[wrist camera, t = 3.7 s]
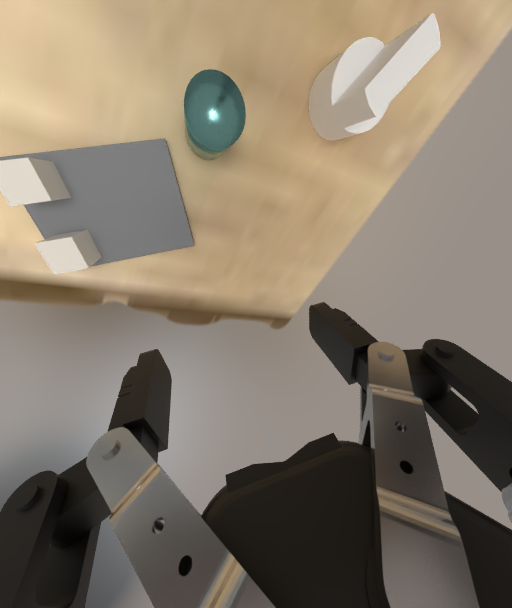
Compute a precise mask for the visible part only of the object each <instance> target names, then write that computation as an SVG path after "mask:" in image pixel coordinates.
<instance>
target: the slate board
mask: <svg viewBox="0 0 512 608" xmlns="http://www.w3.org/2000/svg"><path fill="white" fill-rule="evenodd" d="M20 158H34V159H40V160H46V161H52V162H54V164H55V166H56V168H57V170H58V172H59V174H60V176H61V178H62V180H63V182H64V184H65V186H66V188H67V190H68V192H69V194H70V196H71V198H69V199H62V200H55V201H48V202H42V203H35V204H27V205H24V206H25V208H26V209H27V211H28V213H29V214H30V216H31V218H32V219H33V221H34V222H35V224H36V226H37V227H38V229H39V231H40V232H41V234H42V235H43V237H44V239H47V238H49V237H52V236H55V235H59V234H65V233H70V232H76V231H82V230H88V231H89V233H90V235H91V237H92V239H93V241H94V243H95V245H96V247H97V249H98V251H99V253H100V255H101V258H100V259H99V260H98V261H96V262H95V263H94V264H93V265H92V266H95V265H100V264H105V263H110V262H115V261H120V260H125V259H130V258H135V257H140V256H145V255H150V254H155V253H160V252H165V251H170V250H175V249H180V248H186V247H191V246H194V241H193V238H192V234H191V230H190V227H189V223H188V219H187V216H186V212H185V208H184V205H183V201H182V197H181V194H180V190H179V186H178V183H177V179H176V175H175V172H174V168H173V164H172V161H171V157H170V153H169V150H168V146H167V143H166V140H165V139H156V140H147V141H138V142H130V143H121V144H112V145H103V146H95V147H86V148H77V149H68V150H60V151H51V152H42V153H33V154H24V155H16V156H7V157H0V161H2V160H11V159H20Z"/></svg>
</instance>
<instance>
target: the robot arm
mask: <svg viewBox="0 0 512 608" xmlns="http://www.w3.org/2000/svg"><path fill="white" fill-rule="evenodd" d="M309 329H310V333H311V336H312V338H313V339H314V340H315V342H316V343H317V344H318V345H319V347H320V348H321V349H322V351H323V352H324V353H325V354H326V356H327V357H328V358H329V360H330V361H331V362H332V363H333V364H334V366H335V367H336V368H337V370H338V371H339V372H340V374H341V375H342V376H343V377H344V379H345V380H346V381H347V382H348V384H349V385H350V384H353V383H356V382H358V383H359V384H360V386H361V388H360V433H359V443H355V442H350V441H338V440H337V438H336V436H335V435H334V433H332V434H329V435H327V436H324V437H322V438H319V439H317V440H314V441H312V442H309V443H308V444H306V445H305V446H304V447H303V448H301V449H300V450H299V451H298V452H297V453H295V454H294V455H292V456H291V457H290V458H289V459H287V460H286V461H284V462H275V463H262V464H253V465H250V466H248V467H245V468H243V469H240V470H238V471H235V472H232V473H230V474H227V475H226V482H227V485H226V486H224V487H223V488H222V489H221V490H220V491H219V492H218V493H217V494H216V495H215V496H214V498H213V499H212V500H211V501H210V502H209V504H208V506H207V507H206V509H205V510H204V512H203V514H202V516H201V515H200V513H199V512H198V511H197V510H196V509H195V507H194V506H193V505H192V504H191V503H190V502H189V500H188V499H187V498H186V497H185V496H184V495H183V493H182V492H181V491H180V490H179V489H178V487H177V486H176V485H175V484H174V482H173V481H172V480H171V479H170V478H169V476H168V475H167V474H166V473H165V472H164V471H163V469H162V468H161V467H160V466H159V465H158V464H157V460H158V452H160V451H163V450H166V449H167V448H168V433H169V416H170V400H171V382H172V380H171V374H170V371H169V369H168V367H167V365H166V363H165V362H164V359H163V357H162V355H161V354H160V352H159V350H158V349H155V350H152V351H148V352H144V353H141V354H140V356H139V359H138V363H137V366H134V367H131V368H130V369H129V371H128V372H127V374H126V375H125V376H124V378H123V381H122V385H121V389H120V392H119V395H118V397H119V398H118V399H117V402H116V405H115V408H114V412H113V415H112V419H111V422H110V425H109V429H108V432H107V433H105V434H104V435H103V436H101V437H100V438H99V439H98V440H97V441H96V442H95V444H94V445H93V447H92V448H91V449H90V451H89V453H88V456H87V457H86V458H85V459H83V460H82V461H80V462H79V463H77V464H75V465H74V466H72V467H71V468H69V469H67V470H66V471H64V472H62V473H61V474H59V475H57V474H56V473H54V472H52V471H44V472H40V473H38V474H36V475H34V476H32V477H31V478H30V479H28V480H27V481H25V482H24V483H23V484H22V485H21V486H19V487H18V488H17V489H16V491H14V493H13V494H12V495H11V496H10V497H9V499H8V500H7V502H6V503H5V504H4V506H3V508H2V510H1V512H0V608H85V602H86V596H87V592H88V587H89V581H90V576H91V571H92V566H93V561H94V556H95V551H96V545H97V540H98V535H99V530H100V525H101V521H103V520H104V519H105V518H107V517H108V516H109V515H110V514H112V515H111V516H110V518H109V519H110V523H111V525H112V528H113V529H114V531H115V533H116V535H117V537H118V539H119V541H120V543H121V545H122V547H123V549H124V551H125V552H126V554H127V556H128V558H129V560H130V562H131V564H132V566H133V568H134V570H135V572H136V574H137V575H138V577H139V579H140V581H141V583H142V585H143V587H144V589H145V591H146V593H147V595H148V596H149V598H150V600H151V602H152V604H153V606H154V608H512V530H511V529H509V528H507V527H506V526H504V525H502V524H501V523H499V522H497V521H495V520H494V519H492V518H490V517H489V516H487V515H485V514H483V513H482V512H480V511H478V510H476V509H475V508H473V507H471V506H470V505H468V504H466V503H464V502H463V501H461V500H459V499H458V498H456V497H454V496H452V495H451V494H449V493H447V492H445V491H444V489H443V484H442V480H441V476H440V472H439V468H438V464H437V459H436V456H435V451H434V447H433V443H432V439H431V434H430V430H429V426H428V422H427V418H426V413H425V411H426V412H427V413H428V414H429V415H430V416H431V417H432V419H433V420H434V421H435V422H436V423H437V424H438V425H439V426H440V427H441V428H442V429H443V430H444V431H445V432H446V434H447V435H448V436H449V437H450V438H451V439H452V440H453V441H454V442H455V443H456V444H457V445H458V446H459V447H460V448H461V450H462V451H463V452H464V453H465V454H466V455H467V456H468V457H469V458H470V459H471V460H472V461H473V462H474V463H475V464H476V465H477V467H478V468H479V469H480V470H481V471H482V472H483V473H484V474H485V475H486V476H487V477H488V478H489V479H490V480H491V482H492V483H493V484H494V485H495V486H496V487H497V488H498V489H499V490H500V491H501V492H502V499H503V502H504V504H505V506H506V508H507V510H508V511H509V512H508V516H509V519H510V520H511V522H512V382H511V381H509V380H508V379H506V378H505V377H503V376H502V375H500V374H499V373H497V372H496V371H495V370H493V369H492V368H490V367H489V366H487V365H486V364H484V363H483V362H481V361H480V360H478V359H477V358H475V357H474V356H472V355H471V354H470V353H468V352H467V351H465V350H464V349H462V348H461V347H459V346H458V345H456V344H454V343H451V342H449V341H445V340H440V339H431V340H428V341H426V342H425V343H424V345H423V348H422V349H415V350H402V349H400V348H399V347H397V346H395V345H393V344H391V343H387V342H378V341H377V340H376V339H375V338H374V337H372V336H371V335H370V334H369V333H368V332H367V331H366V330H364V329H363V328H362V327H361V326H360V325H359V324H357V323H356V322H355V321H354V320H353V319H351V317H350V316H348V315H347V314H346V313H345V312H343V311H340V310H338V309H336V308H335V309H332V308H330V307H329V306H328V305H327V304H326V303H325V302H322V303H319V304H315V305H311V306H310V308H309ZM451 387H453V388H454V389H456V391H458V392H459V393H460V394H461V395H462V396H463V397H465V398H466V399H467V400H468V401H469V402H471V403H472V404H473V405H474V406H475V408H476V409H477V411H478V413H479V414H478V413H477V412H475V411H474V410H473V409H472V408H471V407H470V406H469V405H467V404H466V403H465V402H464V401H463V400H462V399H461V398H459V397H458V396H457V395H456V394H455V393H454V392H453V391H451V390H450V389H451Z"/></svg>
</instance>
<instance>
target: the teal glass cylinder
mask: <svg viewBox="0 0 512 608" xmlns="http://www.w3.org/2000/svg"><path fill="white" fill-rule="evenodd" d="M184 112H185V134H186V139H187V142H188V145H189V147H190V148H191V150H192V151H193V152H194V153H195V154H196V155H197V156H198V157H200V158H202V159H206V160H212V159H215V158H217V157H219V156H220V155H221V154H222V153H223V152H224V151H226V150H227V149H228V148H229V147H230V146H231V145H232V144H234V143H235V142H236V141H237V140H238V138H239V137H240V135H241V133H242V131H243V128H244V124H245V105H244V101H243V98H242V95H241V93H240V91H239V89H238V87H237V85H236V84H235V83H234V82H233V80H232V79H231V78H230V77H228V76H227V75H226V74H224V73H222V72H220V71H217V70H204V71H201V72H199V73H197V74H196V75H195V76H194V77H193V78H192V79H191V81H190V82H189V84H188V86H187V89H186V92H185V98H184Z"/></svg>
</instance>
